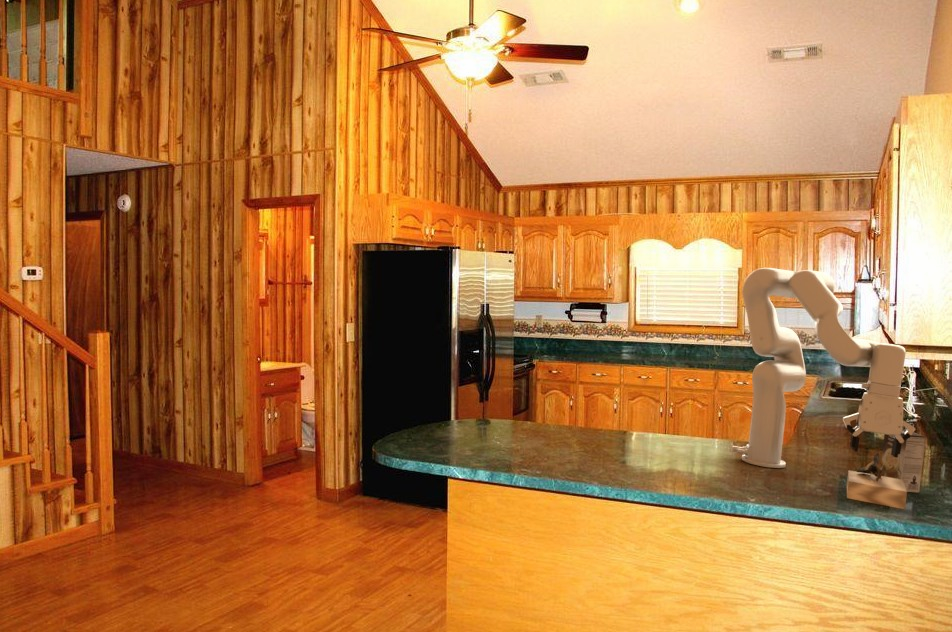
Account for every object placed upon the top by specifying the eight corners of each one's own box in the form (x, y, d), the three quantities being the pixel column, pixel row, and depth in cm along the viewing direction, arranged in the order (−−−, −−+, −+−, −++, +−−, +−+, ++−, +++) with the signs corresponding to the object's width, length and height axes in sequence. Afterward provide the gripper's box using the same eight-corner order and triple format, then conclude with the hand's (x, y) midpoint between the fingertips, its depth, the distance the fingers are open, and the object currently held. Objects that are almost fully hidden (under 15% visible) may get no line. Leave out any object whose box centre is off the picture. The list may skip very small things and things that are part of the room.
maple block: (846, 500, 184) (848, 481, 184) (846, 487, 197) (848, 470, 197) (904, 511, 178) (906, 491, 178) (900, 497, 191) (902, 479, 191)
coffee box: (877, 482, 205) (883, 427, 204) (897, 483, 206) (904, 428, 205) (899, 491, 196) (905, 434, 195) (920, 493, 197) (927, 435, 196)
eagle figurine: (900, 480, 185) (884, 465, 194) (890, 457, 184) (874, 443, 193) (872, 491, 187) (856, 476, 195) (861, 469, 185) (847, 454, 194)
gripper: (851, 387, 186) (842, 451, 187) (925, 397, 182) (915, 462, 183) (844, 383, 193) (835, 445, 194) (914, 392, 189) (905, 455, 190)
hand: (874, 453), depth 189 cm, fingers open, 9 cm apart
